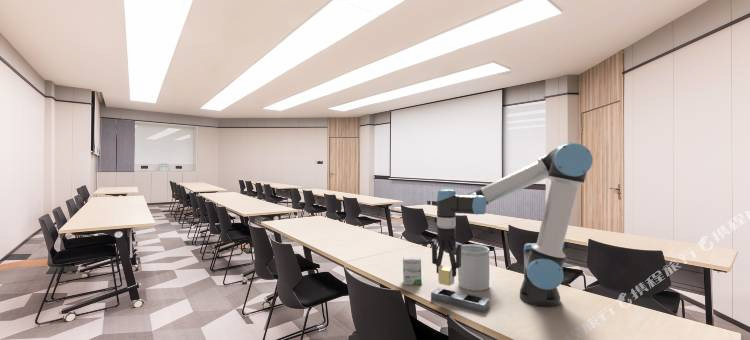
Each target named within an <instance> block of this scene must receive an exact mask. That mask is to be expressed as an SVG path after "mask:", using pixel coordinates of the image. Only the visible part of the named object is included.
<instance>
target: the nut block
mask: <svg viewBox="0 0 750 340" xmlns="http://www.w3.org/2000/svg"><path fill="white" fill-rule="evenodd" d="M451 268H452V267H450V266H449V267H447V266H443V267H442V268H441V269H439V282H438V283H439V285H443V286H449V287H450V286H451V285H450V269H451Z"/></svg>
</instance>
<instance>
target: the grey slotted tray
mask: <svg viewBox="0 0 750 340" xmlns="http://www.w3.org/2000/svg"><path fill="white" fill-rule="evenodd" d="M430 300H431V301H434V300H435V302H438V303H442V304H447V305H449V306H450V305H451V306H453V307H457V308H463V309H466V310H471V311H474V312H478V313H482V314H484V313H485V312H487V310H488V309H489V308H490V304H491V303H490V302H491V301H490V298H488V297H483V296H477V295H474V294H470V293H469V294H468V293H465V292H461V291H456V290H452V289H447V288H445V287H444V288H443V287H439V286H438V287H437V288H435V289H434V290H432V291H431V292H430Z"/></svg>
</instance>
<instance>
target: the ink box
mask: <svg viewBox="0 0 750 340" xmlns="http://www.w3.org/2000/svg"><path fill="white" fill-rule="evenodd" d="M402 275H403V276H402V277H403V279H402V280H403V285H406V284H409V286H410V285H417V286H418V285H422V259H421V257H406V256H405V257H403V258H402Z"/></svg>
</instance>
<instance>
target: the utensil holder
mask: <svg viewBox="0 0 750 340" xmlns="http://www.w3.org/2000/svg"><path fill="white" fill-rule="evenodd" d="M457 279H458V280H457V281H458V282H457V283H458V286H459V287H460V288H461V289H464V290H468V291H474V292H475V291H476V292H477V291H480V292H481V291H485V290H488V289H489V288H490V248H489V247H488V246H485V245H481V244H473V243H470V244H463V246H462V249H461V267H459V268H457Z"/></svg>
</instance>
